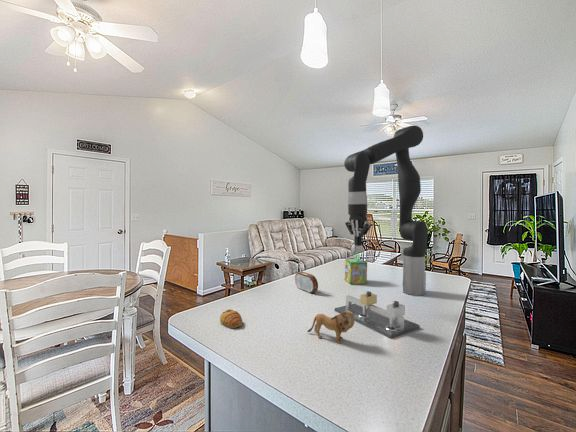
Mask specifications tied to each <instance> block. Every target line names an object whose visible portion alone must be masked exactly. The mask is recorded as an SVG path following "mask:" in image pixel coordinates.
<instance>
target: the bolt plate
mask: <svg viewBox="0 0 576 432" xmlns="http://www.w3.org/2000/svg"><path fill="white" fill-rule="evenodd" d="M344 311H350V312H352V314H354V322H357V323H358V324H360V325H362V326H365V327H366V328H369V329H371V330H373V331H374V332H377V333H378V334H380V335H383V336H385V337H387V338H388V339H393V338H396V337H398V336H402V335H405V334H407V333H410V332H414V331H415V330H418V329H420V328H421V327H420V324H417V323H415V322H413V321H410V320H408V319H405V318H404V330H401V331H400V330H398V329H397V328H396V321H394V320H393V327H390V326H389V325H390V318H387V317H385V316H383V315H380V314H378V313H375V312H373V311H371V310H368V309H366V315H363V307H361V306H359V305H356V304H354V303H352V307H347V306H346V305H343V306H338V307H334V312H336V313H338V314H341V313H343V312H344Z"/></svg>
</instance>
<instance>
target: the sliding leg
mask: <svg viewBox="0 0 576 432" xmlns="http://www.w3.org/2000/svg"><path fill="white" fill-rule="evenodd" d="M359 298H360V303H361V304H363V315H366V306H368V305H375V304H377V303H378V294H375V293H372V291H368V290H367V291H365V293H363V294H360V297H359Z"/></svg>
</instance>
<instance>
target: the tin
mask: <svg viewBox="0 0 576 432" xmlns="http://www.w3.org/2000/svg"><path fill="white" fill-rule="evenodd" d="M294 280H295V281H294V283H295V285H296V287H297V289H299V290H301V291H304V292H306V293H308V294H313V293H316V292H317V291H318V290H319V283H318V279H317V277H316V276H315V275H314V274H311V273H308V272H306V271H302V270H301V271H299V272H297V273H295V275H294Z"/></svg>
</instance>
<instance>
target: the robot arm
mask: <svg viewBox="0 0 576 432" xmlns="http://www.w3.org/2000/svg"><path fill="white" fill-rule="evenodd" d="M423 139H424V131H423V129H422V128H421V127H420V126H419V125H409V126H406V127H405V126H404V127H403V128H400V129H398V130H396V131H395V132H394V135H393V137H392V138H388V139H385V140H382V141H380V142H378V143H375V144H373V145H371V146H368V147H367V148H364V149H363V150H359V151H358V152H355V153H352V154H349V155H348V156H347V157H346V158H345V160H344V163H343V164H344V165H343V166H344V168H345V169H346V171H348V172H351V173H353V175H352V177H351V178H349V180H348V186H347V187H348V189H347V190H348V196H347V208H348V209H347V210H348V211H347V214H348V215H349V218H348V219H349V220H348V221H347V222H345V224H344V225H345V226H346V228H347V230H348V231H349V234H350V235H352V236H353V237H354V245H355V246H357V247H360V246H361V247H362V244H363V237H364V236H366V235H367V234H368V232H369V230H370V229H371V227H372V225H373V224H372V222H371V223H370V222H368V218H367V215H368V196H367V195H368V194H367V179H368V175H369V171H370V167H371V166H370V165H372V164H376V163H378V162H380V161H382V160H384V159H386V158H388V157H390V156H392V155H394V154H395V159H396V167H397V169H396V170H397V183H398V184H397V186H398V194H399V196H398V197H399V222H398V223H399V224H398V225H399V226H398V228H399V235H400V237H401V239H402V240H405V241H412V244H411V245H410V246H408V247H405V248H403V250H402V293H404V294H407V295H410V296H423V295H425V293H427V292H426V291H427V289H426V287H427V285H426V284H427V277H426V276H427V272H426V251H427V248H428V247H427V245H428V236H429V235H428V231H429V230H428V225H427V224H426V222H425V221H422V220H413V217H412V216H413V208H414V206H415V205H416V202H417V200H418V199H419V197H420V195H421V191H422V190H421V186H422V185H421V176H420V174H419V172H418V170H417V168H416V167H415V166H414V164H413V162H412V161H411V158H410V148H415V147H416V146H417V147H418V146H419V145H420V144H421V143H422V142H423Z"/></svg>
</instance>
